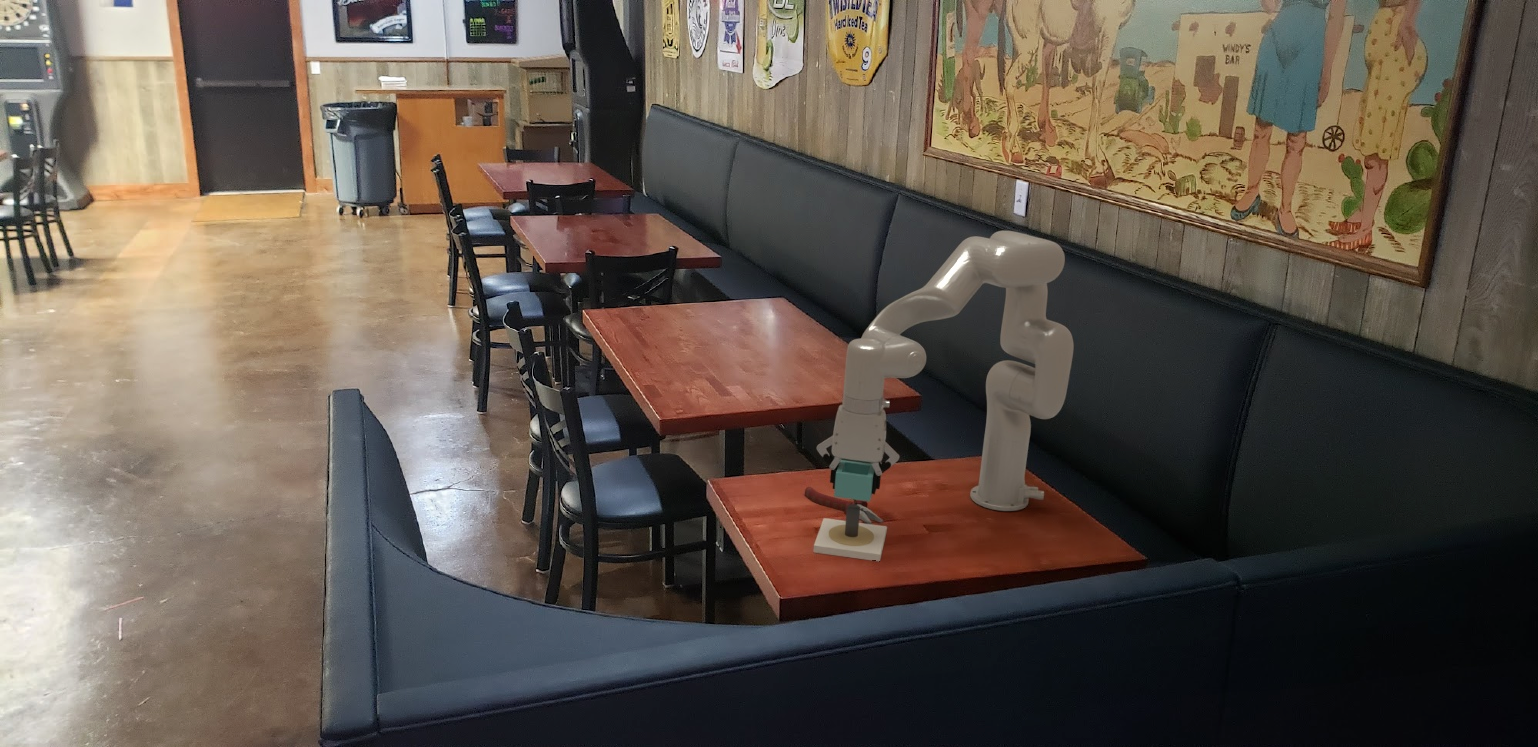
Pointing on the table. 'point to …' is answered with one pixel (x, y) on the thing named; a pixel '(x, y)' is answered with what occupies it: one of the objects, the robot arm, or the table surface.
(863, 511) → the pliers
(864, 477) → the collar
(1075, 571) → the table surface
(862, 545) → the post stand
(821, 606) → the table surface
